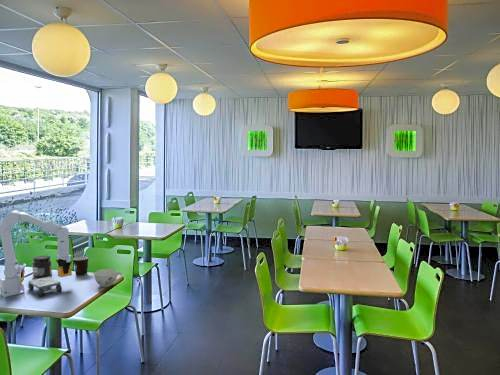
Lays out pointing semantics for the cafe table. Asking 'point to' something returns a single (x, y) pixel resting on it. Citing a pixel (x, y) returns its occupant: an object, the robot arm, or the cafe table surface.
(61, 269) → the chock
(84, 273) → the coffee mug
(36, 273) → the supplement container
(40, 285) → the trolley
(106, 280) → the teacup
